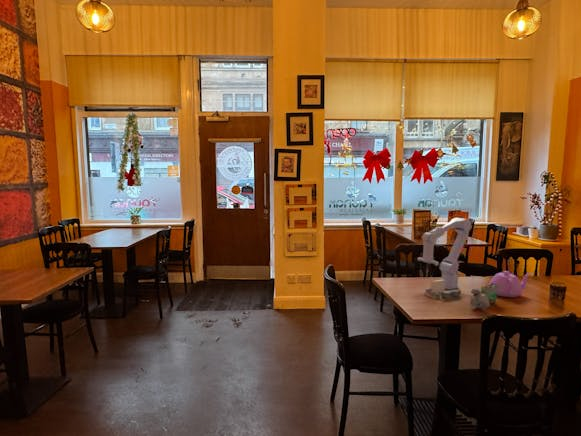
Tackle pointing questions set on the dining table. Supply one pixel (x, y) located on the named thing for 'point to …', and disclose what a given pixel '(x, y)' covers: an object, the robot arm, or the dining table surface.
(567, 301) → the dining table surface
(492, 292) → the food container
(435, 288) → the pad
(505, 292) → the teapot
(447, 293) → the frame
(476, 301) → the grey lumpy figure
